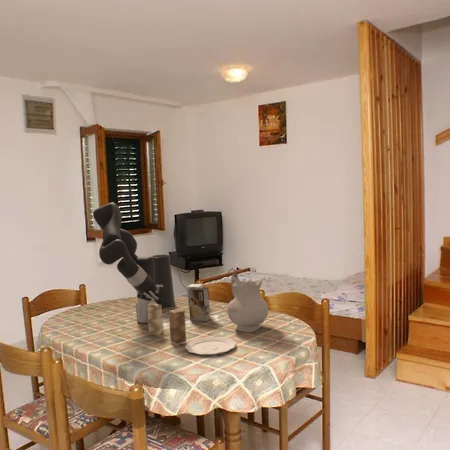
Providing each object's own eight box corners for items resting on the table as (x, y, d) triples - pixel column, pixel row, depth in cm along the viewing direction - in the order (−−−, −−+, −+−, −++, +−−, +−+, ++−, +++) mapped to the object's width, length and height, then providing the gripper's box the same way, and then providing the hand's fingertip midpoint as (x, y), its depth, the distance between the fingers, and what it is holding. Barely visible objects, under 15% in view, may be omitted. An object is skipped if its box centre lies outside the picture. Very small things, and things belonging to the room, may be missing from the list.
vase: (179, 303, 267) (176, 254, 265) (161, 309, 257) (158, 258, 255) (164, 300, 276) (162, 253, 274) (146, 305, 266) (143, 256, 264)
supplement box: (205, 305, 260) (204, 283, 259) (200, 309, 253) (199, 286, 252) (193, 305, 262) (192, 283, 261) (188, 308, 255) (186, 286, 254)
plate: (195, 361, 176) (195, 357, 176) (179, 345, 195) (178, 342, 195) (244, 351, 184) (244, 347, 184) (223, 337, 203) (223, 333, 203)
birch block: (149, 334, 211) (147, 305, 210) (153, 331, 216) (151, 302, 215) (159, 334, 210) (157, 305, 209) (163, 331, 215) (161, 302, 214)
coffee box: (210, 318, 234) (209, 287, 233) (205, 321, 228) (204, 289, 227) (194, 317, 237) (193, 286, 236) (189, 320, 232) (187, 289, 230)
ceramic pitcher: (216, 330, 216) (211, 279, 212) (243, 317, 230) (238, 269, 226) (252, 339, 201) (247, 284, 197) (278, 325, 215) (273, 273, 211)
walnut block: (175, 345, 195) (173, 313, 194) (170, 342, 199) (168, 310, 198) (186, 342, 198) (184, 310, 197) (181, 339, 202) (179, 308, 201)
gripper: (122, 290, 183) (147, 314, 193) (150, 280, 178) (173, 305, 188) (126, 276, 188) (149, 300, 198) (153, 266, 184) (175, 291, 194)
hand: (161, 303), depth 193 cm, fingers closed
